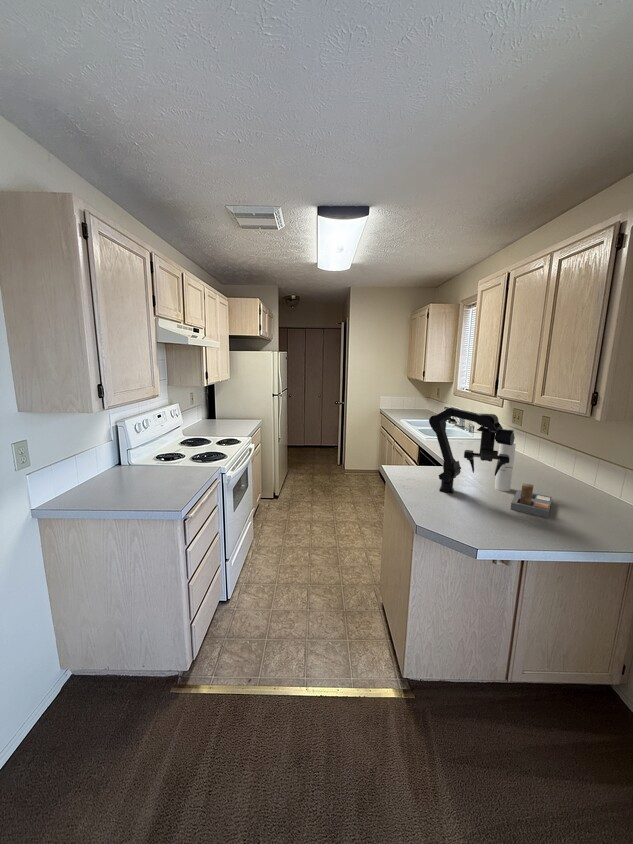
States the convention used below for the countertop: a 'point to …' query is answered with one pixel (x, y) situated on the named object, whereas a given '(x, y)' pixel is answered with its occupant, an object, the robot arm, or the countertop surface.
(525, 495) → the brown wooden block
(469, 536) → the countertop surface
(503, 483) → the cylindrical container
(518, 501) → the socket block
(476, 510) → the countertop surface
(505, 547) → the countertop surface
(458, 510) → the countertop surface
